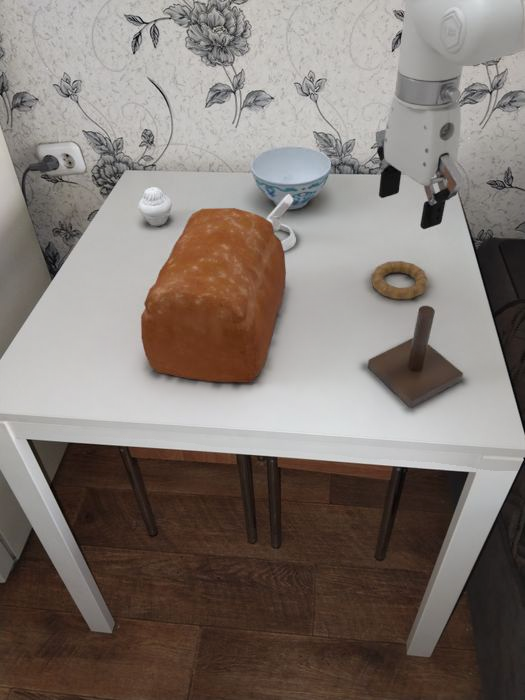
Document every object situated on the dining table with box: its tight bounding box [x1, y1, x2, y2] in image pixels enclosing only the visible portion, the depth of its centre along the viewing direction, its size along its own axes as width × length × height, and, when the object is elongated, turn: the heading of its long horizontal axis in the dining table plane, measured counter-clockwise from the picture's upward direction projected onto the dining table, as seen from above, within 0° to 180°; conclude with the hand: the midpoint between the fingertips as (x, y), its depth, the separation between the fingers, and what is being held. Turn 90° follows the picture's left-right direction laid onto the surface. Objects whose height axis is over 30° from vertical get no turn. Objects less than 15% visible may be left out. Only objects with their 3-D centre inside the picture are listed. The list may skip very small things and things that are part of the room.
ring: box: [370, 260, 429, 300], centre depth 95 cm, size 9×9×2 cm
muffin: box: [137, 186, 173, 227], centre depth 110 cm, size 6×6×7 cm
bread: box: [140, 207, 287, 383], centre depth 85 cm, size 17×24×15 cm
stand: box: [367, 305, 464, 409], centre depth 78 cm, size 9×9×12 cm
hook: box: [265, 194, 297, 252], centre depth 103 cm, size 8×12×7 cm
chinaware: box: [250, 145, 332, 210], centre depth 113 cm, size 15×15×8 cm
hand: (408, 209), depth 84 cm, fingers open, 9 cm apart
